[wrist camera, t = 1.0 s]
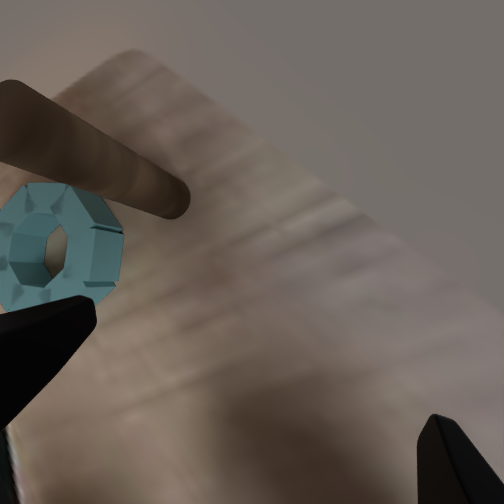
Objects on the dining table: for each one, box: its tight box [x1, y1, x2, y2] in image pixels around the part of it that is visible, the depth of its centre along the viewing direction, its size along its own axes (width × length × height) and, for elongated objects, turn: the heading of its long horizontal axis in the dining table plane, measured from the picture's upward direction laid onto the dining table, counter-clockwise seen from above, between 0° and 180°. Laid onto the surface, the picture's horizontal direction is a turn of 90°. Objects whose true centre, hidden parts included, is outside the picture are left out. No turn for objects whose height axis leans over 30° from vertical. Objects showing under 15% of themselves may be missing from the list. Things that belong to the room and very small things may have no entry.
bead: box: [0, 182, 124, 312], centre depth 25 cm, size 10×10×3 cm
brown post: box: [0, 80, 190, 219], centre depth 18 cm, size 3×3×12 cm
